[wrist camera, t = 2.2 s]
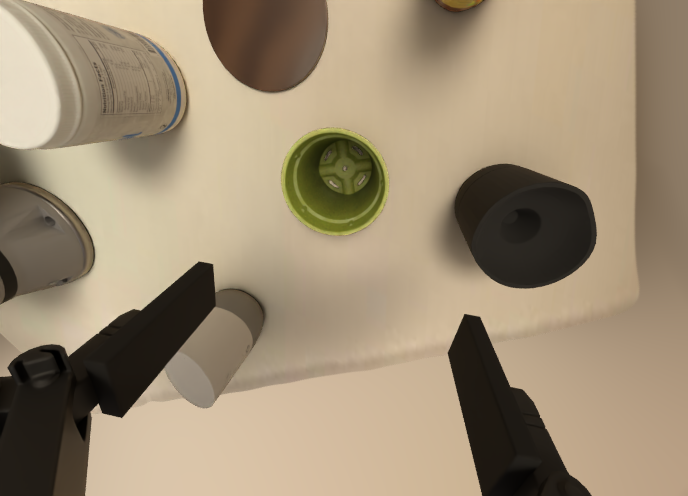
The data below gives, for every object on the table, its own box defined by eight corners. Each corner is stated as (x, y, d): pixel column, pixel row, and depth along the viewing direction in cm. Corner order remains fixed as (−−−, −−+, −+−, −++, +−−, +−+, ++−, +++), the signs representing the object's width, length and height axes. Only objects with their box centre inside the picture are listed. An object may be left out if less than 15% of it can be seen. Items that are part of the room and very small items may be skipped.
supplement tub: (126, 136, 35) (-30, 156, 22) (91, 39, 31) (-128, -8, 18) (202, 130, 33) (83, 149, 20) (175, 28, 29) (4, -31, 16)
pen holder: (438, 230, 35) (455, 273, 26) (470, 149, 31) (504, 169, 22) (515, 249, 35) (560, 299, 26) (558, 171, 30) (629, 199, 22)
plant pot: (333, 102, 30) (314, 102, 23) (405, 155, 32) (412, 172, 24) (290, 176, 34) (263, 198, 27) (356, 221, 36) (348, 253, 28)
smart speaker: (207, 276, 43) (134, 349, 30) (269, 288, 42) (220, 366, 30) (212, 326, 47) (149, 407, 34) (268, 337, 46) (225, 423, 34)
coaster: (203, 72, 31) (200, 71, 30) (208, -86, 25) (205, -89, 25) (313, 106, 31) (311, 106, 30) (342, -44, 25) (341, -47, 25)
